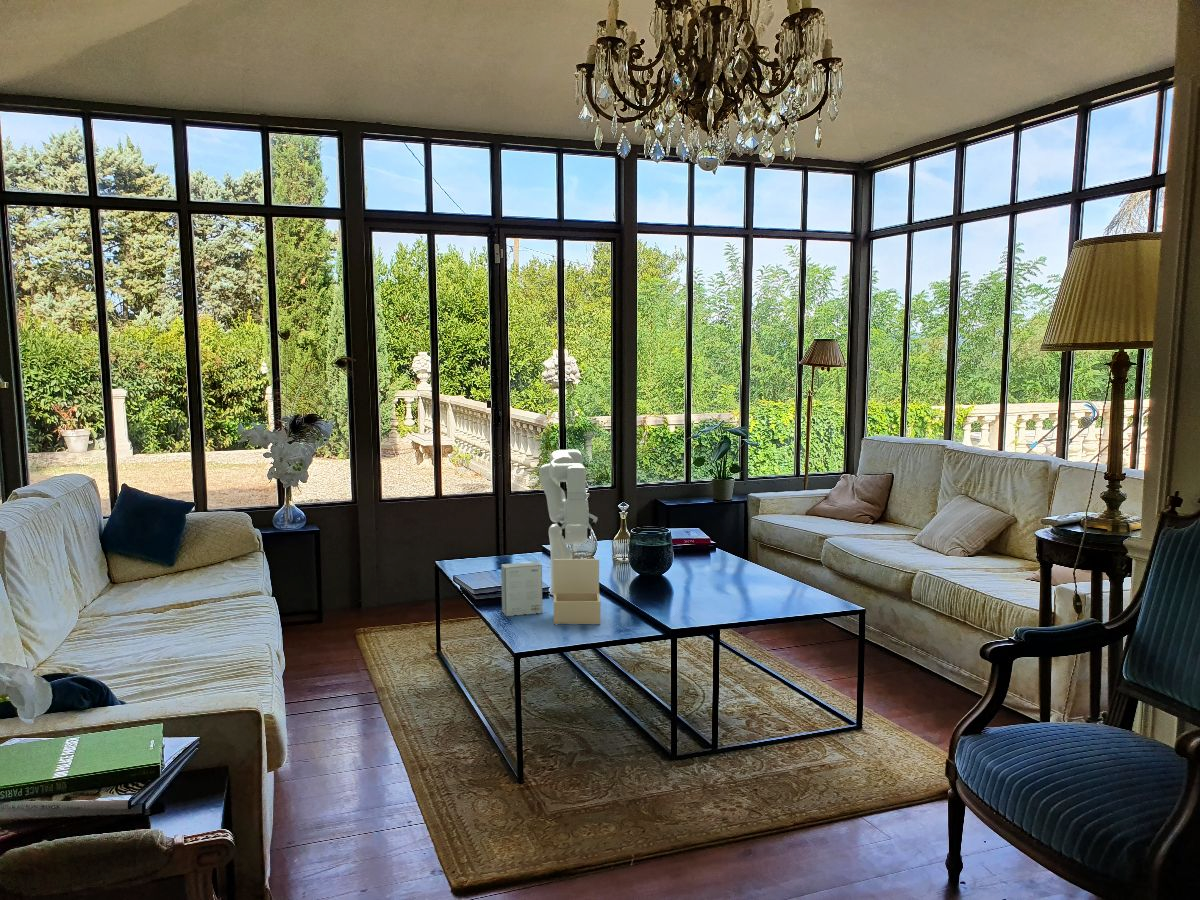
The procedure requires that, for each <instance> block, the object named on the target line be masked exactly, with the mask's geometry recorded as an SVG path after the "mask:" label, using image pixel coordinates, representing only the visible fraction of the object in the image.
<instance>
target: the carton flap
mask: <svg viewBox="0 0 1200 900" xmlns="http://www.w3.org/2000/svg"><path fill="white" fill-rule="evenodd" d="M554 593H599V594H600V558H581V555H580V554H577V553H575V554H573V555H572V559H554Z"/></svg>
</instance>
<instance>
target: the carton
mask: <svg viewBox="0 0 1200 900" xmlns="http://www.w3.org/2000/svg"><path fill="white" fill-rule="evenodd" d="M601 607H602V606H601V596H600V592H599V593H554V596H553V625H554V624H602V623H601V620H602V619H601V611H602V609H601Z"/></svg>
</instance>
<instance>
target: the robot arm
mask: <svg viewBox="0 0 1200 900" xmlns="http://www.w3.org/2000/svg"><path fill="white" fill-rule="evenodd" d="M548 458H549V463H546V464H545V463H544V464H542V466H540V468H539V471H538V475H539V477H538V478H539V483H540V486H541V488H542V490H543V492H544V494H545V497H546V503H547V510H548V515H549V518H550V521H551V522H552V524H550V526H549V527H548V537H549V538H548V539H549V547H550V589H551V591H550V594H552V595H554V559H572V558H573V552H572V550H571V549H570V548H569V547H568V546H567V545H573V544H574V545H575V544H585V543H586V542H588V539H590V537H591V536H592V533H591V531H592V528H593V527H594V526H595V525H596V524H597V521H598V516H595V515H593V514H591V513H590V512H589V500H588V499H587V498H589V497H590V493H587V492H586V490H587V489H586V486H587V485H586V484H587V483H586V482H587V480H586V476H587V469H586V467H585V466H584V463H583V462H584V458H583V454H582V453H581V451H580V450H578V449H557V450H554V451H552V453H550V455H549V457H548ZM557 483H566V493H565V490H563V487H561V486H560V485H559V484H557ZM590 519H592V520H593V521H592V522H590V521H589V520H590ZM589 522H590V523H589Z"/></svg>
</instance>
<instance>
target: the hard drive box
mask: <svg viewBox="0 0 1200 900" xmlns="http://www.w3.org/2000/svg"><path fill="white" fill-rule="evenodd" d="M500 567H501V568H500V569H501V570H500V573H501V575H500V577H501V609H502V610H501V612H502V613H504V614H503V615H504V616H505V617H515V616H514V615H517V616H524V614H526V615H537V614H536V613H538V614H543V613H542V612H544V611H543V565H542V564H541V563H540V562H539V561H526V562H525V561H524V562H515V563H504V564H503V563H502V564H501V565H500Z"/></svg>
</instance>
